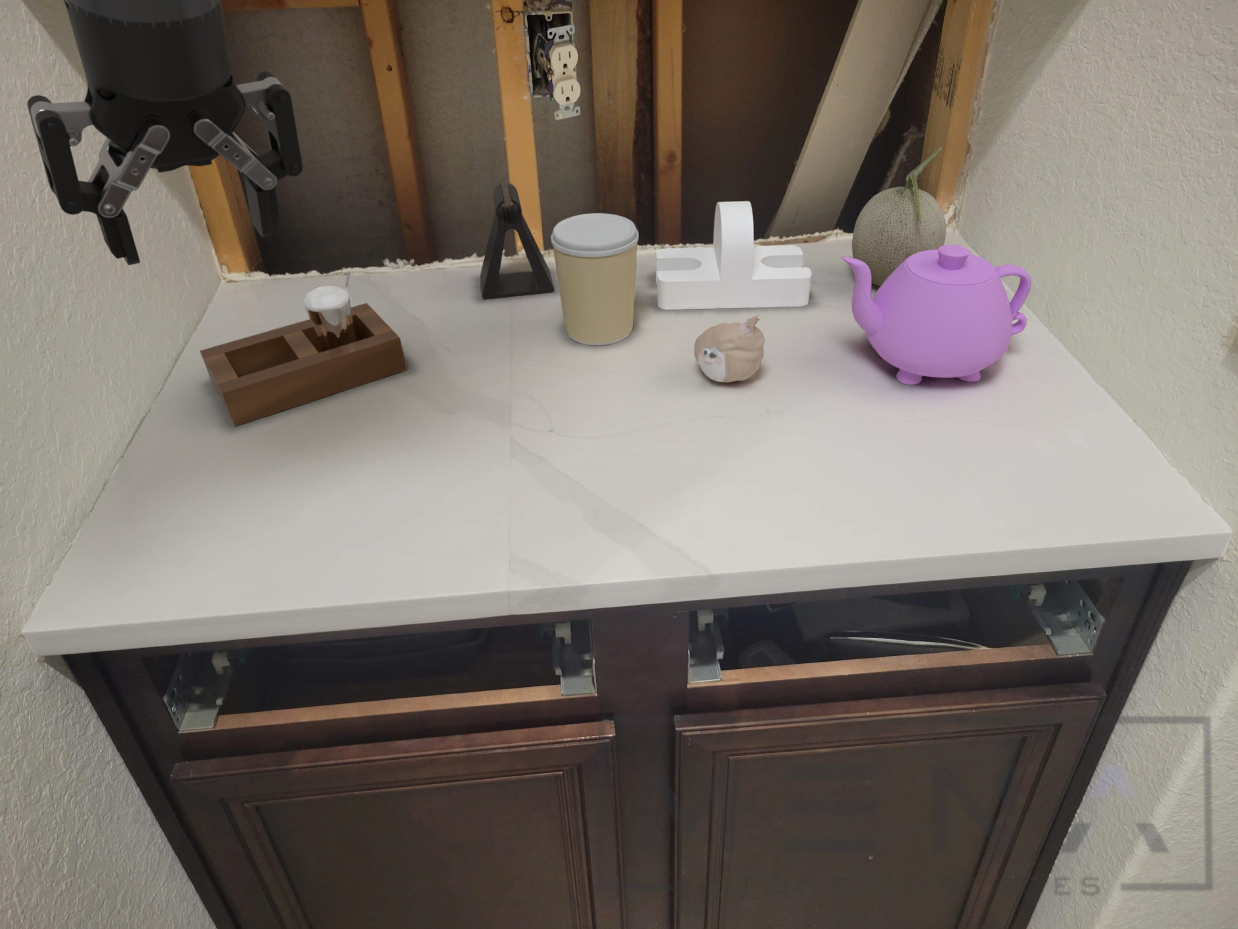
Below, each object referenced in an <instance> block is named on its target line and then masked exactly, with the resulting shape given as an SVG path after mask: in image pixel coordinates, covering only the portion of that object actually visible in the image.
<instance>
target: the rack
mask: <svg viewBox="0 0 1238 929" xmlns="http://www.w3.org/2000/svg"><path fill="white" fill-rule="evenodd" d="M351 312H352V319H353V326H354V332H355V337H356V342H353V343H350V344H347V345H344V346H340V347H337V348H334V349H331V350H327V351H324V352H323V350H322V347H321V345H320V342H319V339H318V337H317V334H316V332H315V329H314V327H313V325H312V323H311V321H310V318H308V319H306V320H302V321H299V322H295V323H292V324H288V325H284V326H280V327H278V328H273V329H271V330H267V331H263V332H260V333H257V334H253V335H249V336H247V337H246V336H245V337H243V338H239V339H236V340H232V341H229V342H226V343H221V344H219V345H215V346H211V347H208V348H204V349H200V350H199V353H200V355H201V359H202V360H203V363H204V366H205V368H206V371H207V373H208V376H209V378H210V381H211V384H212V385H213V388H214V389H215V392H216V393H217V395H218V397H219V399H220V402H221V403H222V405H223V407H224V409H225V411H226V412H227V414H228V416H229V418H230V421H231V422H232V424H233V426H234V427H238V426H241V425H245V424H248V423H250V422H254V421H256V420H260V419H264V418H265V417H269V416H272V415H275V414H277V413H281V412H284V411H287V410H290V409H294V408H296V407H299V406H302V405H305V404H309V403H311V402H315V401H318V400H320V399H324V398H326V397H330V396H333V395H336V394H338V393H339V394H340V393H342V392H345V391H348V390H350V389H351V390H352V389H354V388H357V387H360V386H363V385H367V384H369V383H372V382H375V381H378V380H381V379H385V378H387V377H390V376H393V375H396V374H400V373H402V372H405V371H407V370H408V369H407V362H406V360H405V354H404V350H403V345H402V341H401V337H400V336H399V334H397V333H396V332H395V331H394V330H393V329H392V328H391V326H390V325H389V324H388V323H386V321H385V320H384V319H383V318H382V317H381V316H380V315H379V314H378V313H377V312H376V311H375V310H374V309H373V308H372V307H371V306H370V305H369V303H368V302H365V303H361V304H358V305H355V306H351Z"/></svg>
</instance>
